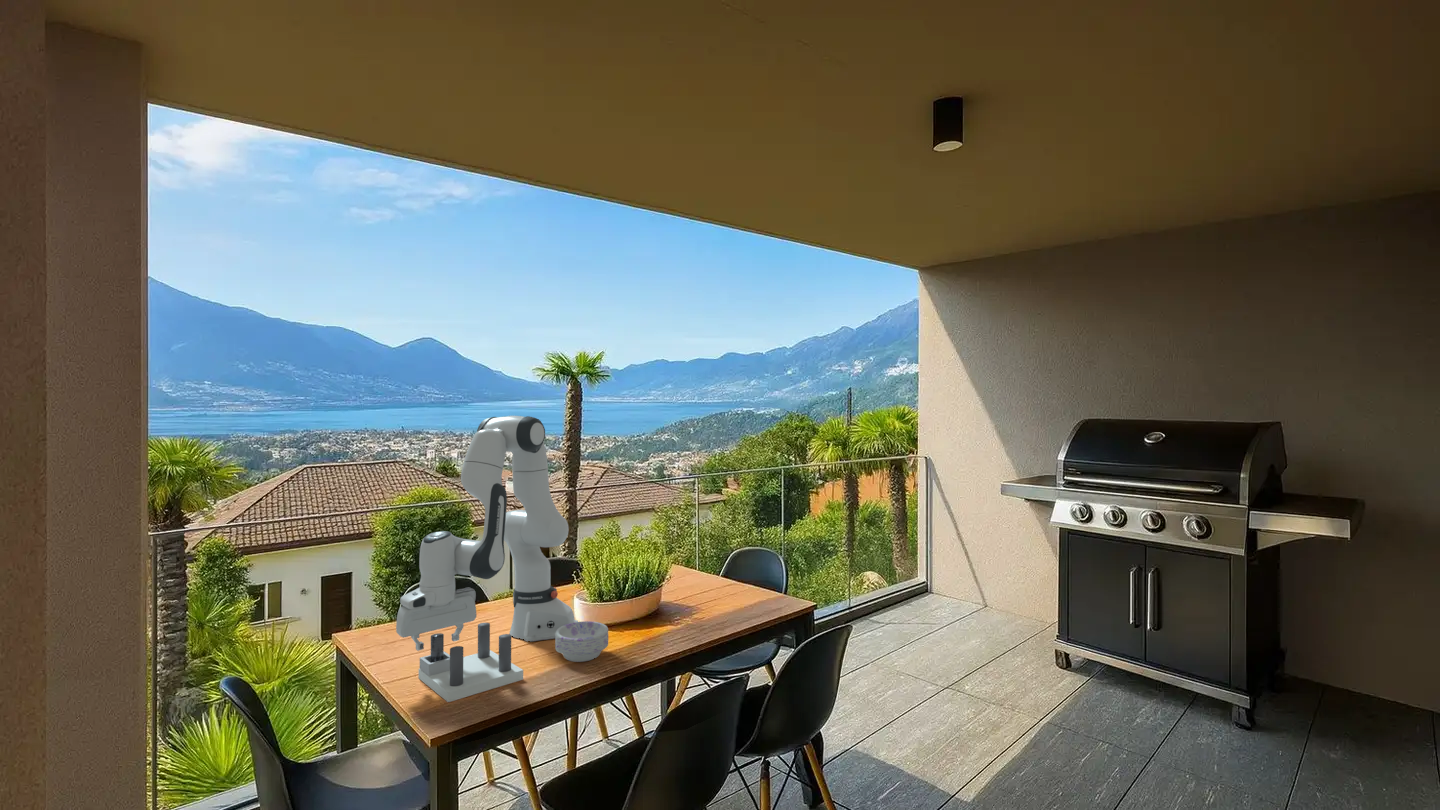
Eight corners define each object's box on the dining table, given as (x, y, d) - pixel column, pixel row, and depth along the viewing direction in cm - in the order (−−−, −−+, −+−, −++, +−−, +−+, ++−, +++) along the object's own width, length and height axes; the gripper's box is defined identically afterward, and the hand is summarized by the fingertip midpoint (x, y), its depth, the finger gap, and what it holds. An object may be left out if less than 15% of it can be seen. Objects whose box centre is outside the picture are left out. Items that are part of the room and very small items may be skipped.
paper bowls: (560, 669, 183) (560, 641, 183) (551, 651, 197) (551, 624, 197) (614, 661, 189) (614, 633, 189) (601, 644, 203) (601, 618, 203)
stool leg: (444, 666, 179) (444, 633, 179) (442, 670, 176) (442, 637, 176) (432, 667, 179) (432, 633, 179) (429, 671, 176) (429, 637, 176)
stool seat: (490, 658, 191) (490, 618, 191) (523, 679, 177) (523, 636, 177) (418, 678, 177) (418, 635, 177) (448, 702, 163) (448, 655, 163)
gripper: (470, 583, 187) (470, 632, 187) (393, 599, 173) (394, 651, 173) (480, 588, 182) (480, 638, 183) (402, 604, 168) (402, 658, 168)
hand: (437, 644), depth 178 cm, fingers open, 8 cm apart
